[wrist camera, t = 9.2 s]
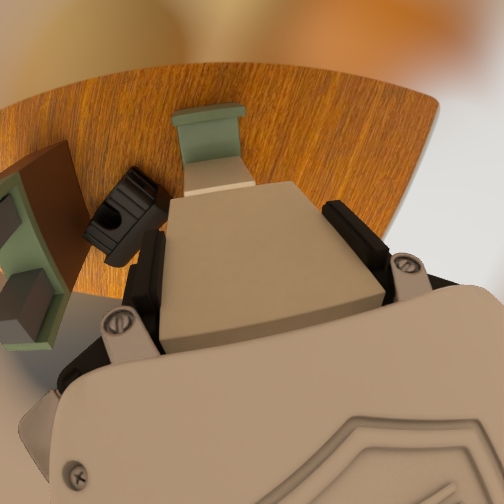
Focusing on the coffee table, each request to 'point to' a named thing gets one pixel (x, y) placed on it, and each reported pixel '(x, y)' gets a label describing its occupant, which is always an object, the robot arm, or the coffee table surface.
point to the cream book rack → (211, 148)
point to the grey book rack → (39, 246)
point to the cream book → (255, 268)
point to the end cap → (127, 217)
